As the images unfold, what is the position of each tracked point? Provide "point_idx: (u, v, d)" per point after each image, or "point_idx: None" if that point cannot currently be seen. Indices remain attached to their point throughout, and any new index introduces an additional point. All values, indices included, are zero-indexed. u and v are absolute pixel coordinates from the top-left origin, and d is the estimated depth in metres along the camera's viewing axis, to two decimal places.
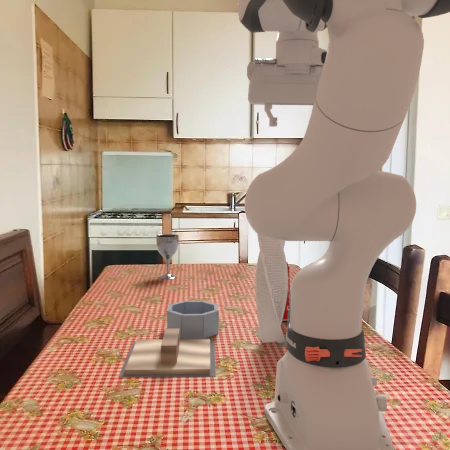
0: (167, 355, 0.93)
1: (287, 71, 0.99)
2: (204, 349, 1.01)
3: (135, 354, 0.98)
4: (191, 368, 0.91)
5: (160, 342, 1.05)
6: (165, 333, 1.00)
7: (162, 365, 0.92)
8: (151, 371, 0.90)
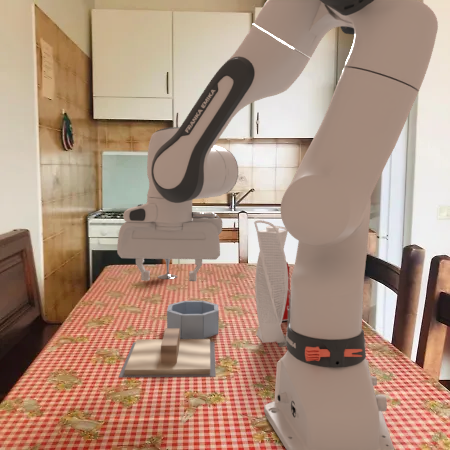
0: (167, 355, 0.93)
1: None
2: (204, 349, 1.01)
3: (135, 354, 0.98)
4: (191, 368, 0.91)
5: (160, 342, 1.05)
6: (165, 333, 1.00)
7: (162, 365, 0.92)
8: (151, 371, 0.90)
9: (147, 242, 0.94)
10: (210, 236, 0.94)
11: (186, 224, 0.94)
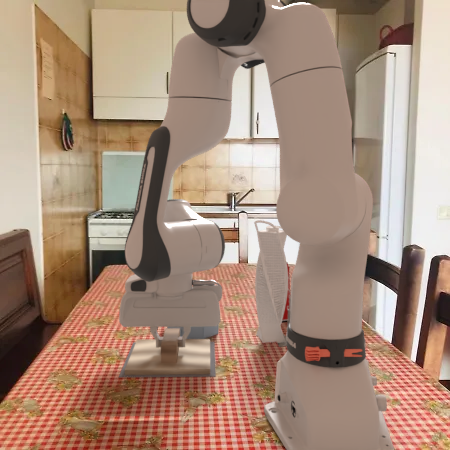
0: (167, 355, 0.93)
1: None
2: (204, 349, 1.01)
3: (135, 354, 0.98)
4: (191, 368, 0.91)
5: None
6: (165, 333, 1.00)
7: (162, 365, 0.92)
8: (151, 371, 0.90)
9: (148, 311, 0.95)
10: (210, 304, 0.96)
11: (186, 293, 0.95)
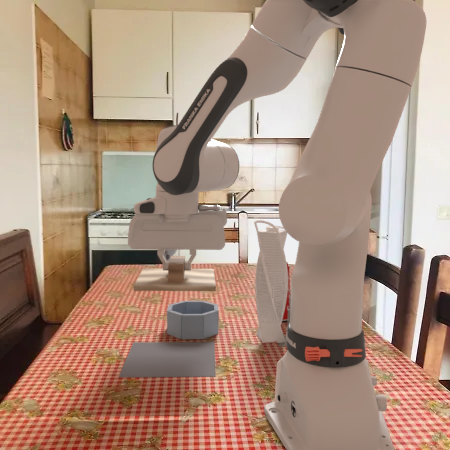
0: (174, 274, 0.97)
1: None
2: (209, 274, 1.05)
3: (142, 277, 1.01)
4: (197, 285, 0.95)
5: (166, 270, 1.08)
6: (171, 258, 1.04)
7: (170, 283, 0.96)
8: (159, 287, 0.94)
9: (156, 233, 0.99)
10: (216, 227, 0.99)
11: (193, 216, 0.99)
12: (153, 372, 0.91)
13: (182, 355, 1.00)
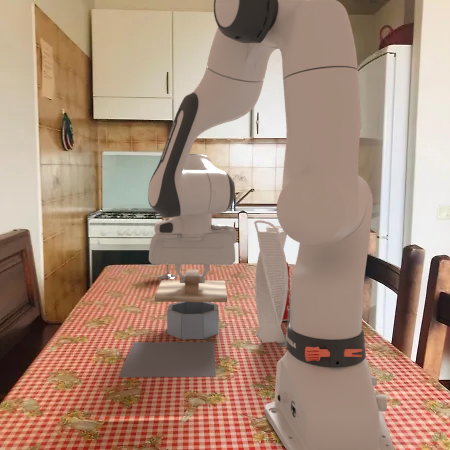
0: (190, 287, 1.09)
1: None
2: (220, 286, 1.17)
3: (162, 288, 1.13)
4: (211, 297, 1.07)
5: None
6: (187, 272, 1.16)
7: (186, 295, 1.08)
8: (177, 299, 1.06)
9: (174, 250, 1.11)
10: (227, 245, 1.12)
11: (207, 235, 1.11)
12: (153, 372, 0.91)
13: (182, 355, 1.00)
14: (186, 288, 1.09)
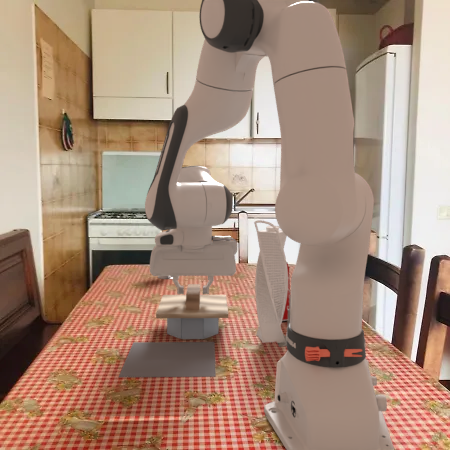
0: (192, 303, 1.10)
1: None
2: (221, 301, 1.17)
3: (163, 304, 1.14)
4: (212, 313, 1.07)
5: (183, 296, 1.21)
6: (188, 287, 1.16)
7: (187, 311, 1.09)
8: (178, 315, 1.07)
9: (174, 262, 1.12)
10: (227, 256, 1.12)
11: (207, 246, 1.11)
12: (153, 372, 0.91)
13: (182, 355, 1.00)
14: (187, 304, 1.10)
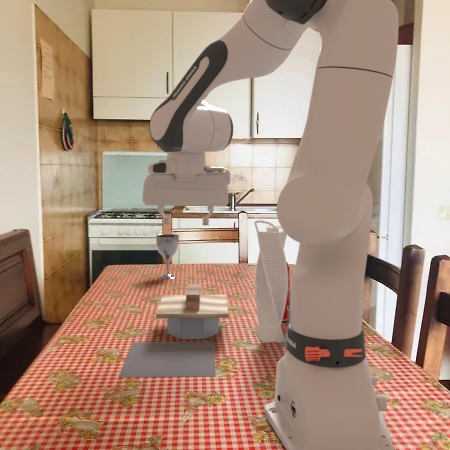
0: (192, 303, 1.10)
1: None
2: (221, 301, 1.17)
3: (163, 304, 1.14)
4: (212, 313, 1.07)
5: (183, 296, 1.21)
6: (188, 287, 1.16)
7: (187, 311, 1.09)
8: (178, 315, 1.07)
9: (167, 191, 1.12)
10: (220, 186, 1.12)
11: (200, 176, 1.12)
12: (153, 372, 0.91)
13: (182, 355, 1.00)
14: (187, 304, 1.10)
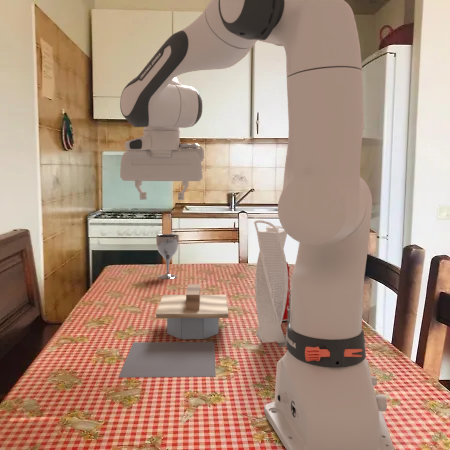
0: (192, 303, 1.10)
1: None
2: (221, 301, 1.17)
3: (163, 304, 1.14)
4: (212, 313, 1.07)
5: (183, 296, 1.21)
6: (188, 287, 1.16)
7: (187, 311, 1.09)
8: (178, 315, 1.07)
9: (143, 167, 1.18)
10: (194, 162, 1.18)
11: (175, 152, 1.18)
12: (153, 372, 0.91)
13: (182, 355, 1.00)
14: (187, 304, 1.10)
